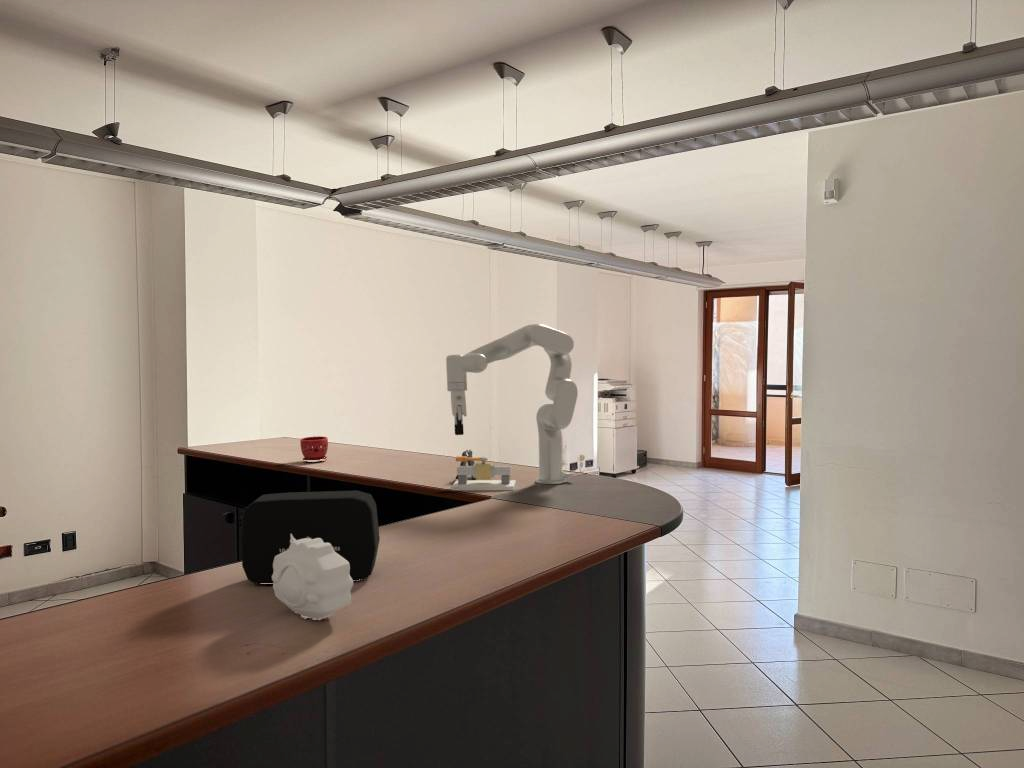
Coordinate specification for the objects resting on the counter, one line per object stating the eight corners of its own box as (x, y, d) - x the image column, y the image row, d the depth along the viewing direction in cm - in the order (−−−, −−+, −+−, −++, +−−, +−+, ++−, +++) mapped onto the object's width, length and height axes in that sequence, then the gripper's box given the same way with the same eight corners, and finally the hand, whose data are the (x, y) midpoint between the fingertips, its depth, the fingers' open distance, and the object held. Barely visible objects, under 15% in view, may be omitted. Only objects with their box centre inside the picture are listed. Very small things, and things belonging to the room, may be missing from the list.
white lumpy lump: (306, 600, 152) (304, 527, 151) (362, 619, 141) (360, 539, 140) (261, 616, 143) (258, 538, 142) (316, 637, 132) (313, 552, 131)
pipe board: (515, 483, 284) (515, 472, 283) (513, 490, 271) (513, 478, 271) (456, 484, 285) (456, 472, 285) (451, 490, 272) (451, 478, 272)
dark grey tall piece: (479, 478, 299) (479, 449, 298) (476, 480, 293) (475, 451, 292) (459, 477, 300) (458, 449, 300) (455, 480, 295) (454, 451, 294)
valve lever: (487, 460, 279) (487, 456, 279) (486, 461, 276) (486, 457, 276) (457, 460, 280) (457, 456, 280) (455, 461, 278) (455, 457, 278)
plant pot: (299, 461, 354) (298, 437, 354) (325, 459, 360) (325, 435, 359) (303, 464, 343) (302, 440, 342) (330, 462, 348) (329, 438, 348)
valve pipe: (511, 476, 280) (511, 460, 280) (510, 479, 274) (510, 462, 274) (458, 476, 282) (458, 460, 281) (456, 479, 276) (456, 462, 275)
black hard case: (241, 588, 161) (239, 500, 160) (256, 571, 173) (254, 490, 172) (376, 582, 163) (374, 496, 162) (382, 566, 175) (380, 486, 174)
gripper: (469, 387, 263) (471, 436, 264) (464, 385, 278) (466, 431, 279) (449, 388, 262) (451, 437, 263) (445, 386, 277) (447, 433, 278)
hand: (459, 434), depth 271 cm, fingers closed
